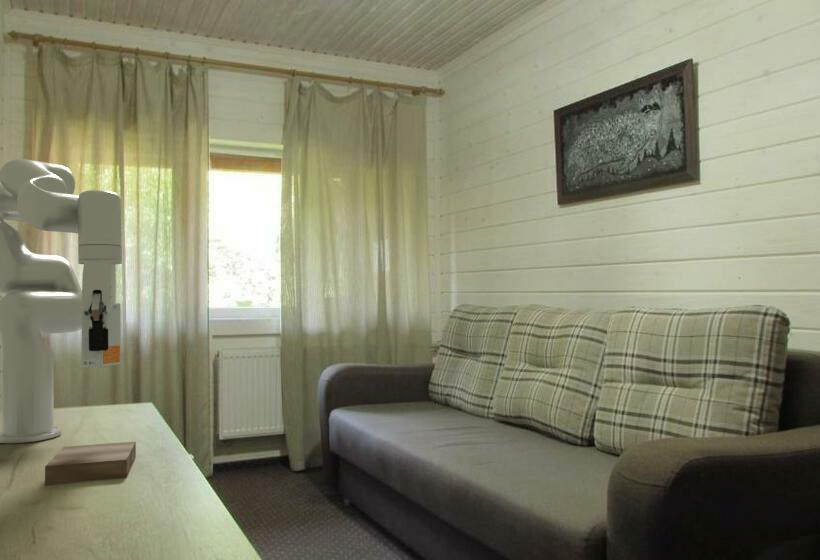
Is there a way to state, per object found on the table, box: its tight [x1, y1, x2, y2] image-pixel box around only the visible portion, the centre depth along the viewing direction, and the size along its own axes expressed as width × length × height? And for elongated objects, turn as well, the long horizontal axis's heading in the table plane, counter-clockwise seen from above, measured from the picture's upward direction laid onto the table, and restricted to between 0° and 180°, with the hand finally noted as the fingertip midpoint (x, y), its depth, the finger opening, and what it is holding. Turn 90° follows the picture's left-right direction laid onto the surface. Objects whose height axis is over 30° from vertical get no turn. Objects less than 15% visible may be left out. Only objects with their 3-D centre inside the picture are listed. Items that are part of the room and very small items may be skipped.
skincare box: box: [81, 302, 122, 368], centre depth 121 cm, size 6×4×12 cm
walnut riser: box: [44, 440, 137, 486], centre depth 110 cm, size 14×12×3 cm
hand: (101, 348), depth 120 cm, fingers closed on skincare box, 7 cm apart
